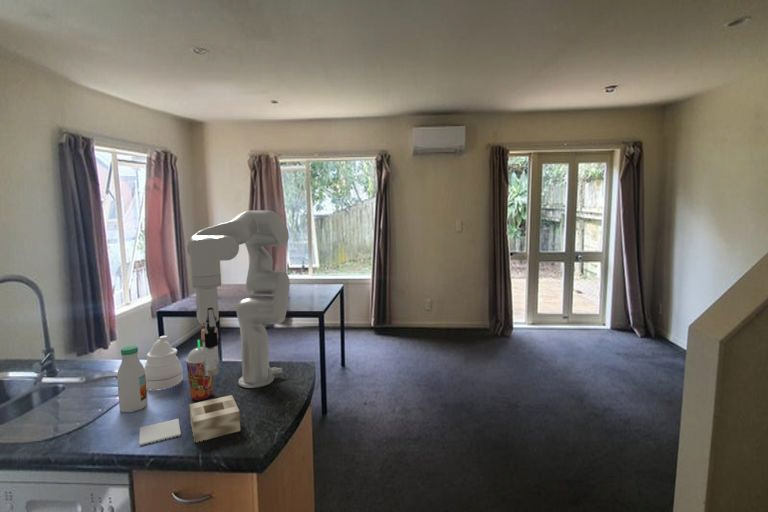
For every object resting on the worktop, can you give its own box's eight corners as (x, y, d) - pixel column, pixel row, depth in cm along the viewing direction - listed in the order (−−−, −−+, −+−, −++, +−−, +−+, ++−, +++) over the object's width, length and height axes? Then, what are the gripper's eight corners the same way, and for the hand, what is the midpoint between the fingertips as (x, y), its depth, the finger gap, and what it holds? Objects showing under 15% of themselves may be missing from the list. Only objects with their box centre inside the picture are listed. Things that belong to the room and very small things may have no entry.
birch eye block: (232, 413, 127) (231, 394, 126) (240, 430, 116) (239, 410, 116) (190, 423, 121) (189, 404, 120) (194, 442, 110) (193, 422, 110)
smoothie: (182, 399, 136) (179, 342, 134) (201, 389, 144) (198, 335, 142) (202, 403, 133) (198, 344, 131) (220, 393, 141) (217, 337, 139)
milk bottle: (134, 414, 127) (129, 352, 125) (113, 412, 128) (108, 351, 126) (153, 403, 134) (148, 344, 132) (133, 401, 136) (128, 343, 134)
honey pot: (190, 380, 153) (187, 333, 151) (156, 393, 142) (152, 343, 140) (170, 373, 159) (167, 329, 157) (136, 385, 148) (132, 338, 146)
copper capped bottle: (202, 372, 118) (200, 328, 116) (218, 369, 120) (216, 326, 118) (204, 377, 114) (201, 332, 112) (221, 374, 116) (218, 330, 115)
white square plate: (178, 420, 123) (178, 418, 123) (180, 435, 114) (180, 433, 114) (140, 429, 118) (140, 427, 118) (139, 446, 109) (139, 444, 109)
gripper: (189, 278, 119) (193, 338, 121) (195, 287, 105) (199, 355, 107) (216, 276, 123) (219, 334, 125) (225, 284, 109) (229, 350, 111)
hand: (210, 343), depth 116 cm, fingers closed on copper capped bottle, 4 cm apart
